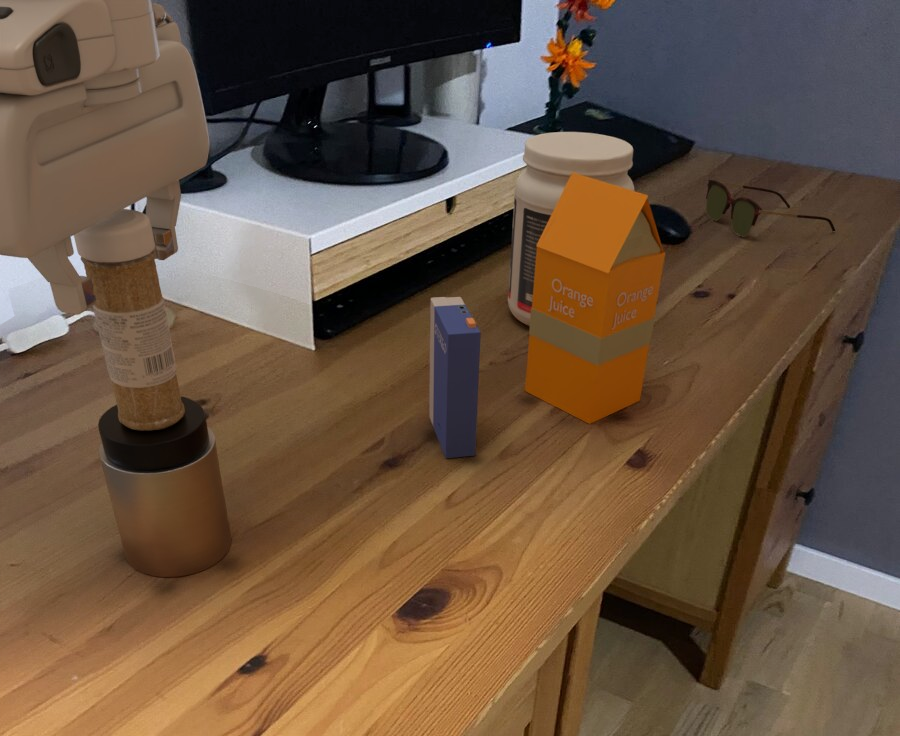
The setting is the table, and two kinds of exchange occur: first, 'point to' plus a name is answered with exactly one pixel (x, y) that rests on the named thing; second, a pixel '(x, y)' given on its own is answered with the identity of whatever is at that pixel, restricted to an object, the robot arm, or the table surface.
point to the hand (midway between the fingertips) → (122, 281)
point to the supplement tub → (555, 196)
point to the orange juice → (594, 299)
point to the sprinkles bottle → (132, 319)
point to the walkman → (454, 376)
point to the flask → (166, 493)
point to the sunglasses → (741, 207)
